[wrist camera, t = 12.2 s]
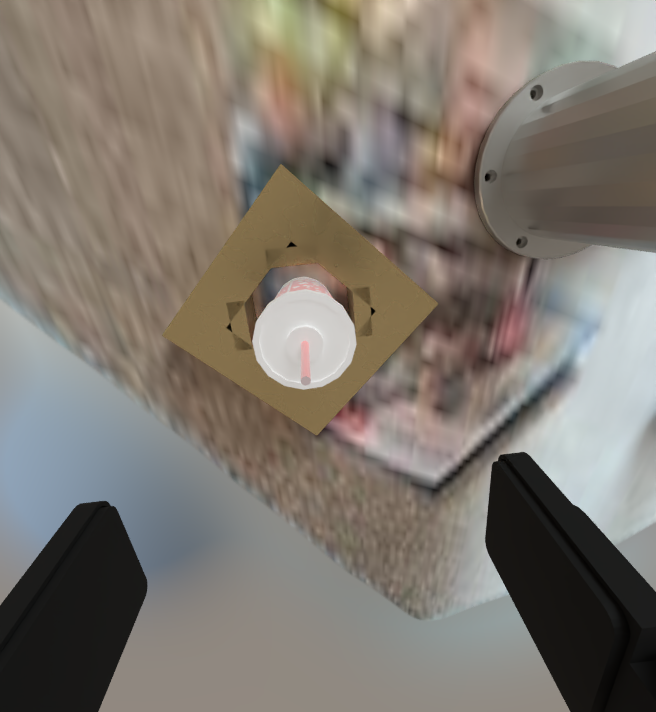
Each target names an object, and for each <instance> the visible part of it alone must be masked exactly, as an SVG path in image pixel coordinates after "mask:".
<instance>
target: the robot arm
mask: <svg viewBox="0 0 656 712" xmlns="http://www.w3.org/2000/svg"><path fill="white" fill-rule="evenodd" d="M530 92H531V94H532V98H531V96H530ZM485 174H487V175H488V179H487V180H486V181H485ZM474 189H475V201H476V205H477V208H478V212H479V216H480V218H481V220H482V222H483V224H484V226H485V228H486V230H487V231H488V232H489V233H490V235H491V236H492V237H493V238H494V239H495V241H497V242H498V243H499V244H501V245H502V246H503V247H504V248H506V249H507V250H509V251H512V252H514V253H516V254H518V255H522V256H526V257H530V258H538V259H553V258H561V257H565V256H568V255H571V254H575V253H577V252H579V251H581V250H583V249H585V248H587V247H589V246H591V245H600V246H608V247H615V248H623V249H631V250H638V251H646V252H653V253H656V51H655V52H653V53H651V54H648V55H646V56H644V57H641V58H639V59H637V60H635V61H632V62H630V63H628V64H625V65H623V66H621V67H619V68H617V67H616V66H614V65H611V64H607V63H603V62H600V61H576V62H571V63H567V64H562V65H560V66H558V67H555V68H553V69H551V70H549V71H546V72H544V73H542V74H541V75H539V76H537V77H536V78H534V79H532V80H531V81H529V82H528V83H526V84H525V85H524V86H523V87H522V88H520V89H519V90H518V91H517V92H516V93H514V94H513V95H512V96H511V97H510V99H509V100H508V101H507V102H506V103H505V104H504V106H503V107H502V108H501V109H500V110H499V112H498V113H497V115H496V117H495V118H494V120H493V121H492V123H491V125H490V126H489V128H488V130H487V132H486V135H485V137H484V139H483V142H482V144H481V146H480V150H479V154H478V158H477V162H476V167H475V178H474ZM517 239H518V243H517V244H516V242H517ZM485 542H486V548H487V551H488V554H489V556H490V558H491V560H492V562H493V564H494V565H495V567H496V569H497V571H498V573H499V575H500V577H501V579H502V581H503V583H504V585H505V587H506V589H507V591H508V592H509V594H510V596H511V598H512V600H513V602H514V604H515V606H516V608H517V610H518V612H519V614H520V616H521V617H522V619H523V621H524V623H525V625H526V627H527V629H528V631H529V633H530V635H531V637H532V639H533V641H534V643H535V644H536V646H537V648H538V650H539V652H540V654H541V656H542V658H543V660H544V662H545V664H546V666H547V668H548V669H549V671H550V673H551V675H552V677H553V679H554V681H555V683H556V685H557V687H558V689H559V691H560V693H561V695H562V696H563V698H564V700H565V702H566V704H567V706H568V708H569V710H570V712H656V592H655V591H654V590H653V588H652V587H651V586H650V585H649V584H648V583H647V582H646V580H645V579H644V578H643V577H642V576H641V575H640V574H639V573H638V572H637V571H636V569H635V568H634V567H633V566H632V565H631V564H630V563H629V562H628V560H627V559H626V558H625V557H624V556H623V555H622V554H621V553H620V552H619V550H618V549H617V548H616V547H615V546H614V545H613V544H612V543H611V542H610V540H609V539H608V538H607V537H606V536H605V535H604V534H603V533H602V532H601V530H600V529H599V528H598V527H597V526H596V525H595V524H594V523H593V522H592V520H591V519H590V518H589V517H588V516H587V515H586V514H585V513H584V512H583V511H582V510H581V509H580V508H579V507H577V506H575V505H573V504H572V503H571V502H570V501H569V500H568V499H567V498H566V496H565V495H564V494H563V493H562V492H561V491H560V490H559V488H558V487H557V486H556V485H555V484H554V483H553V482H552V481H551V479H550V478H549V477H548V476H547V475H546V474H545V473H544V471H543V470H542V469H541V468H540V467H539V466H538V465H537V464H536V462H535V461H534V460H533V459H532V458H531V457H530V456H529V455H528V454H527V453H525V452H520V453H512V454H503V455H500V456H499V458H498V461H496V462H493V464H492V472H491V483H490V493H489V504H488V515H487V526H486V536H485ZM146 593H147V579H146V576H145V574H144V572H143V570H142V567H141V565H140V562H139V560H138V558H137V556H136V553H135V551H134V548H133V546H132V544H131V541H130V539H129V537H128V534H127V532H126V530H125V527H124V525H123V523H122V520H121V518H120V516H119V513H118V511H117V509H116V508H115V507H114V506H110V504H109V503H108V502H107V501H99V502H91V503H83V504H79V505H77V506H76V507H75V508H74V509H73V511H72V512H71V513H70V515H69V516H68V517H67V519H66V520H65V521H64V522H63V524H62V525H61V527H60V528H59V529H58V530H57V532H56V533H55V534H54V536H53V537H52V538H51V540H50V541H49V542H48V544H47V545H46V546H45V547H44V549H43V550H42V551H41V553H40V554H39V555H38V557H37V558H36V559H35V561H34V562H33V563H32V565H31V566H30V567H29V569H28V570H27V571H26V572H25V574H24V575H23V576H22V578H21V579H20V580H19V582H18V583H17V584H16V585H15V587H14V588H13V589H12V591H11V592H10V594H9V595H8V596H7V597H6V599H5V600H4V601H3V603H2V604H1V605H0V712H98V711H99V708H100V706H101V704H102V701H103V699H104V696H105V694H106V691H107V689H108V687H109V684H110V682H111V679H112V677H113V674H114V672H115V669H116V667H117V664H118V662H119V660H120V657H121V655H122V652H123V650H124V648H125V645H126V642H127V640H128V638H129V635H130V633H131V631H132V628H133V626H134V623H135V621H136V618H137V616H138V613H139V611H140V608H141V606H142V604H143V601H144V599H145V596H146Z"/></svg>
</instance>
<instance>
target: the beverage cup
mask: <svg viewBox="0 0 656 712" xmlns="http://www.w3.org/2000/svg"><path fill="white" fill-rule="evenodd" d="M252 343H253V347H254V351H255V356H256V360H257V362H258V363H259V364H260V366H261V367H262V368H263V370H264V371H265V372H266V374H267V375H268V376H269V377H271V378H272V379H274V380H276V381H277V382H279V383H281V384H282V385H284V386H287V387H293V388H298V389H303V390H304V389H311V388H317V387H323V386H325V385H326V384H328V383H330V382H332V381H333V380H335V379H337V378H339V377H340V376H341V374H342V373H343V372H344V371H345V370H346V368H347V367H348V366H349V365H350V363H351V361H352V358H353V355H354V351H355V348H356V345H357V344H356V336H355V328H354V324H353V322H352V321H351V319H350V317H349V316H348V314H347V312H346V311H345V309H344V307H343V306H342V305H341V304H340V303H338V302H337V301H335V300H334V299H333V298H332V296H331V295H330V293H329V291H328V290H327V288H326V287H325V286H324V285H323V284H322V283H320V282H319V281H318V280H316V279H312V278H308V277H300V278H294V279H292V280H290V281H289V282H287V283H286V284H284V285H283V287H282V288H281V290H280V291H279V293H278V294H277V296H276V297H275V299H274V300H273V301H271V302H270V303H269V304H268V305H267V306H266V308H265V309H264V311H263V312H262V314H261V315H260V316H259V318H258V320H257V321H256V324H255V330H254V335H253V340H252Z"/></svg>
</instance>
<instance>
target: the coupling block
mask: <svg viewBox="0 0 656 712" xmlns="http://www.w3.org/2000/svg"><path fill="white" fill-rule="evenodd" d="M312 263H318V264H319V265H321V266H322V267H323V268H324V269H326V270H327V271H328V272H329V273H330V274H332V275H333V276H334V277H335V278H337V279H338V280H339V281H340V282H341V283H343V284H344V285H345V286H346V287H347V296H348V309H349V317H350V319H351V321H352V322H353V324H354V328H355V336H356V344H357V345H356V348H355V351H354V355H353V358H352V361H351V363H350V365H349V366H348V367H347V368H346V370H345V371H344V372H343V373H342V374H341V376H340V377H339V378H337V379H335V380H333V381H332V382H330V383H328V384H326V385H325V386H323V387H317V388H311V389H304V390H303V389H298V388H293V387H287V386H284V385H282V384H281V383H279V382H277V381H276V380H274V379H272V378H271V377H269V376H268V375H267V374H266V372H265V371H264V370H263V368H262V367H261V366H260V364H259V363H258V362H257V360H256V356H255V351H254V347H253V343H252V340H253V335H254V330H255V324H256V321H257V320H256V314H255V309H254V303H253V298H252V293H253V291H254V290H255V289H256V287H257V286H258V285H259V283H260V282H261V281H262V279H263V278H264V277H265V275H266V274H267V273H268V271H269V270H270V269H271V268H276V267H285V266H294V265H303V264H312ZM437 305H438V303H437V302H436V301H435V300H434V299H432V298H431V297H430V296H429V295H428V294H427V293H426V292H425V291H423V290H422V289H421V288H420V287H419V286H418V285H417V284H416V283H414V282H413V281H412V280H411V279H410V278H409V277H408V276H407V275H405V274H404V273H403V272H402V271H401V270H400V269H399V268H398V267H396V266H395V265H394V264H393V263H392V262H391V261H390V260H389V259H387V258H386V257H385V256H384V255H383V254H382V253H381V252H379V251H378V250H377V249H376V248H375V247H374V246H373V245H372V244H370V243H369V242H368V241H367V240H366V239H365V238H364V237H363V236H361V235H360V234H359V233H358V232H357V231H356V230H355V229H354V228H352V227H351V226H350V225H349V224H348V223H347V222H346V221H345V220H343V219H342V218H341V217H340V216H339V215H338V214H337V213H336V212H334V211H333V210H332V209H331V208H330V207H329V206H328V205H326V204H325V203H324V202H323V201H322V200H321V199H320V198H319V197H317V196H316V195H315V194H314V193H313V192H312V191H311V190H310V189H308V188H307V187H306V186H305V185H304V184H303V183H302V182H301V181H299V180H298V179H297V178H296V177H295V176H294V175H293V174H292V173H290V172H289V171H288V170H287V169H286V168H285V167H284V166H283V165H281V164H280V166H279V167H278V169H277V170H276V172H275V173H274V174H273V176H272V177H271V179H270V180H269V182H268V183H267V185H266V186H265V187H264V189H263V190H262V192H261V193H260V195H259V196H258V198H257V199H256V200H255V202H254V203H253V205H252V206H251V208H250V209H249V211H248V212H247V213H246V215H245V216H244V218H243V219H242V221H241V222H240V224H239V225H238V226H237V228H236V229H235V231H234V232H233V234H232V235H231V237H230V238H229V239H228V241H227V242H226V244H225V245H224V247H223V248H222V250H221V251H220V252H219V254H218V255H217V257H216V258H215V260H214V261H213V263H212V264H211V265H210V267H209V268H208V270H207V271H206V273H205V274H204V276H203V277H202V278H201V280H200V281H199V283H198V284H197V286H196V287H195V289H194V290H193V291H192V293H191V294H190V296H189V297H188V299H187V300H186V302H185V303H184V304H183V306H182V307H181V309H180V310H179V312H178V313H177V314H176V316H175V317H174V319H173V320H172V322H171V323H170V325H169V326H168V327H167V329H166V330H165V332H164V333H163V335H162V336H163V337H165V338H167V339H168V340H170V341H171V342H173V343H174V344H176V345H177V346H179V347H180V348H182V349H184V350H185V351H187V352H188V353H190V354H191V355H193V356H194V357H196V358H197V359H199V360H201V361H202V362H204V363H205V364H207V365H208V366H210V367H211V368H213V369H215V370H216V371H218V372H219V373H221V374H222V375H224V376H225V377H227V378H228V379H230V380H232V381H233V382H235V383H236V384H238V385H239V386H241V387H242V388H244V389H245V390H247V391H249V392H250V393H252V394H253V395H255V396H256V397H258V398H259V399H261V400H262V401H264V402H266V403H267V404H269V405H270V406H272V407H273V408H275V409H276V410H278V411H279V412H281V413H283V414H284V415H286V416H287V417H289V418H290V419H292V420H293V421H295V422H296V423H298V424H300V425H301V426H303V427H304V428H306V429H307V430H309V431H310V432H312V433H313V434H315V435H318V434H319V433H320V432H321V431H322V429H323V428H324V427H325V426H326V425H327V424H328V423H329V422H330V421H331V420H332V419H333V417H334V416H335V415H336V414H337V413H338V412H339V411H340V410H341V409H342V408H343V407H344V406H345V404H346V403H347V402H348V401H349V400H350V399H351V398H352V397H353V396H354V395H355V394H356V393H357V391H358V390H359V389H360V388H361V387H362V386H363V385H364V384H365V383H366V382H367V381H368V380H369V378H370V377H371V376H372V375H373V374H374V373H375V372H376V371H377V370H378V369H379V368H380V367H381V365H382V364H383V363H384V362H385V361H386V360H387V359H388V358H389V357H390V356H391V355H392V354H393V352H394V351H395V350H396V349H397V348H398V347H399V346H400V345H401V344H402V343H403V342H404V341H405V339H406V338H407V337H408V336H409V335H410V334H411V333H412V332H413V331H414V330H415V329H416V328H417V326H418V325H419V324H420V323H421V322H422V321H423V320H424V319H425V318H426V317H427V316H428V315H429V313H430V312H431V311H432V310H433V309H434V308H435V307H436V306H437Z"/></svg>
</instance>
